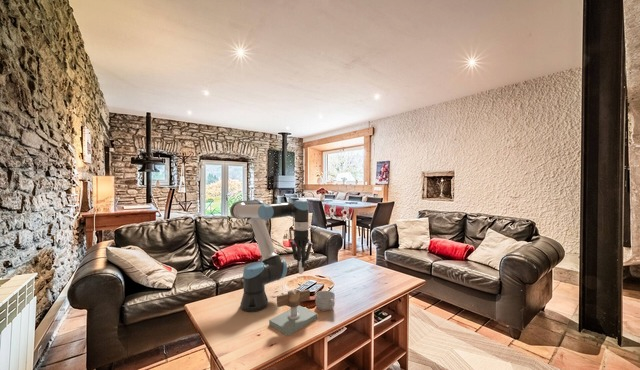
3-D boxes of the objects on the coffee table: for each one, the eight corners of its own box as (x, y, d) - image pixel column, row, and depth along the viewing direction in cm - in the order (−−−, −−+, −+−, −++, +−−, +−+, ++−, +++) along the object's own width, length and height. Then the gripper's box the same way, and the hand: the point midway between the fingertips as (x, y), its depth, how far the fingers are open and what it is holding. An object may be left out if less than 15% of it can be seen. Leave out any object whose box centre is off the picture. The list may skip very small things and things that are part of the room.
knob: (311, 303, 133) (311, 290, 133) (279, 310, 126) (279, 297, 125) (306, 298, 138) (306, 286, 138) (275, 305, 131) (275, 292, 131)
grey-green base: (269, 324, 129) (269, 307, 129) (298, 309, 144) (298, 294, 144) (288, 335, 120) (288, 317, 120) (317, 318, 135) (317, 301, 135)
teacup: (312, 305, 149) (312, 291, 149) (330, 302, 153) (330, 288, 153) (321, 317, 136) (321, 302, 136) (340, 313, 140) (340, 298, 140)
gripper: (287, 229, 138) (287, 273, 139) (309, 231, 134) (309, 277, 134) (293, 226, 145) (293, 269, 146) (315, 228, 140) (315, 272, 141)
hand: (301, 272), depth 140 cm, fingers closed
